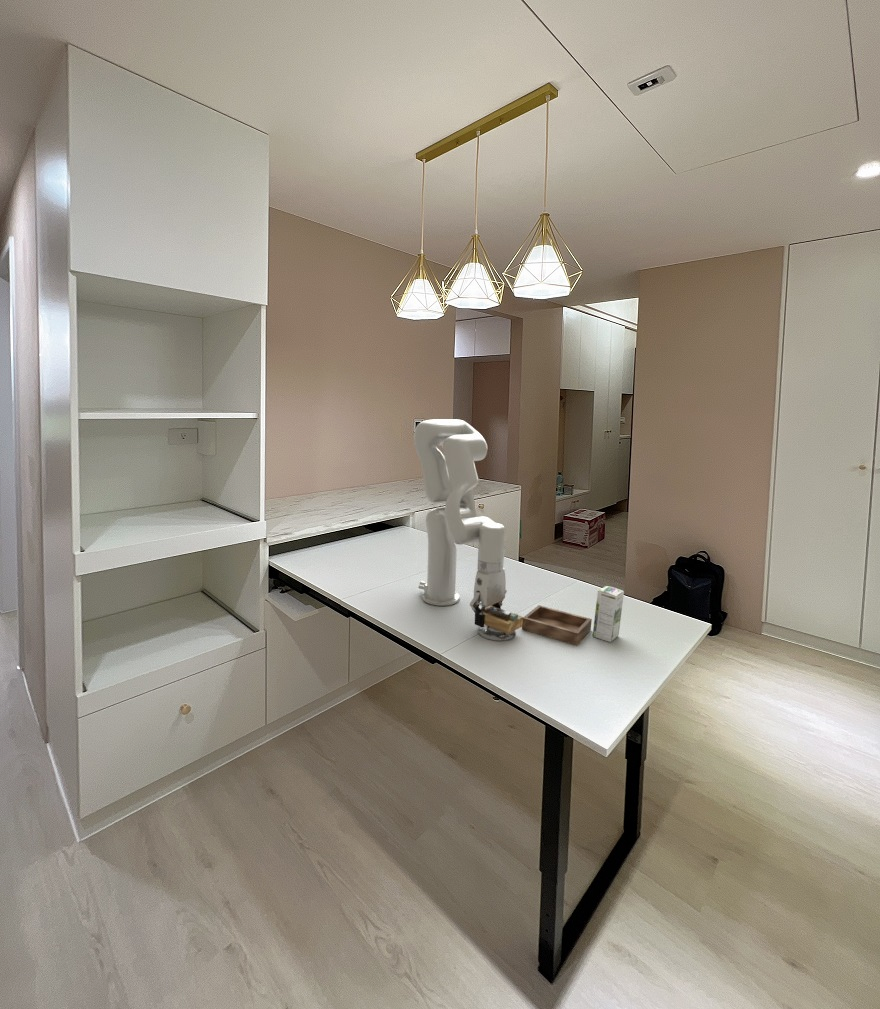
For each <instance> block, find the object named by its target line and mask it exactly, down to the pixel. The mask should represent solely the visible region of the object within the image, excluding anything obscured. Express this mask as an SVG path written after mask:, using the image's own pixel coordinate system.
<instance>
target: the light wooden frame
mask: <svg viewBox="0 0 880 1009" xmlns="http://www.w3.org/2000/svg"><path fill="white" fill-rule="evenodd" d="M490 607H494V606H492V605H491V606H488V607H485V610H484V613H483V614H485V618H484V625H487V626H489V627H492V628H494V629H497V630H499V631H502V632H504V633H506V634H509V633H511V632H513V631H515V632H516V631H517V630H518V629H520V628H521V629H522V623H523V617H524V616H521V615H519V614H518V613H515V612H514V613H513V612H511V615H510V616H509V617H506V616H502V619H500V618H497V617H495V616H493V613H492V612H488V609H489V608H490ZM494 608H497V607H494ZM498 609H500V608H498ZM480 610H481V608H480ZM501 610H504V609H502V608H501Z"/></svg>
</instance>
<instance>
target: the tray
mask: <svg viewBox="0 0 880 1009" xmlns="http://www.w3.org/2000/svg"><path fill="white" fill-rule="evenodd" d="M522 617H523V623H522V627H521V630H524V631H527V632H530V633H534V634H537V635H541V636H544V637H547V638H551V639H554V640H557V641H561V642H564V643H567V644H572V645H575V646H578V645H579V644H580V643H581V641H583V639H584V638H585V637H586V636H587V635H588V634H589V633H590V631H591V630H592V621H593V620H592V618H589V617H585V616H581V615H578V614H574V613H570V612H567V611H563V610H559V609H555V608H551V607H547V606H543V605H539V604H538V605H537V606H536V607H534V608H533V609H532V610H531V611H530V612H528V613H527V614H526V615H524V616H522Z"/></svg>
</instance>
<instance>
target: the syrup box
mask: <svg viewBox="0 0 880 1009" xmlns="http://www.w3.org/2000/svg"><path fill="white" fill-rule="evenodd" d="M596 594H597V595H596V602H595V603H596V604H595V612H594V621H593V628H592V629H593V630H592V637H593V638H596V639H599V640H603V641H606V642H608V643H612V642H613V641H614V640H615V639H617V638H618V637H619V634H620V626H621V620H622V618H621V617H622V611H623V603H624V597H625V596H624V595H625V591H624V590H622V589H619V588H616V587H613V586H608V585H605V586H603V587H602V588H601V589H599V590H597V593H596Z"/></svg>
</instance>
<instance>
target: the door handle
mask: <svg viewBox="0 0 880 1009" xmlns="http://www.w3.org/2000/svg"><path fill="white" fill-rule="evenodd" d="M501 609H502V608H501ZM501 609H498V608H494V607H490V608H489V609H488V612H492V613H493V616H495V617H497V618H500V619H502V616H506V617H509V616H510V615H511V613H512V612H511V611H507V610H505V609H503V610H501ZM477 633H478V635H479V636H480V637H482V638H484V639H485V640H489V641H493V642H506V641H510V640H513V639H514V638H515V637H516V634H517V633H516V630H515V631H513V632H511V633H509V634H506V633H504V632H502V631H499V630H497V629H494V628H492V627H489V626H487V625H484V627H480V626H478V628H477Z"/></svg>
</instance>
